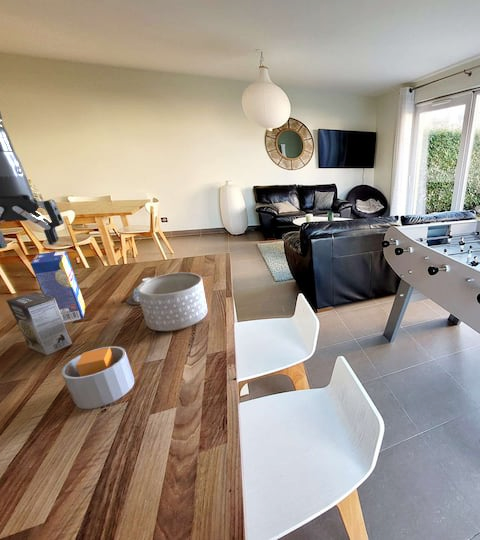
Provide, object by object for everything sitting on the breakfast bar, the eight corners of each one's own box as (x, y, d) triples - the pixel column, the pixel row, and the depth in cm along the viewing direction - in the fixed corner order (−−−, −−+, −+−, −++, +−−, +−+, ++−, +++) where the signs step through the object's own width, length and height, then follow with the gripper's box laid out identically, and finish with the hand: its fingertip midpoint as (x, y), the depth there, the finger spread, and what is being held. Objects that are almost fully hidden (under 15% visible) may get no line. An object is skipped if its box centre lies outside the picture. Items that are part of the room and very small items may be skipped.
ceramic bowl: (66, 415, 64) (52, 384, 61) (84, 381, 74) (72, 353, 70) (129, 399, 69) (119, 369, 66) (138, 369, 78) (129, 342, 75)
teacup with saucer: (163, 300, 114) (159, 282, 111) (125, 308, 107) (119, 289, 104) (162, 289, 123) (158, 272, 120) (127, 295, 116) (122, 277, 114)
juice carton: (89, 399, 68) (75, 365, 64) (95, 384, 72) (83, 352, 68) (116, 392, 70) (104, 359, 66) (120, 378, 74) (109, 347, 71)
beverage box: (85, 305, 108) (65, 250, 100) (83, 318, 100) (61, 259, 92) (60, 311, 104) (37, 253, 96) (55, 324, 96) (30, 263, 88)
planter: (211, 325, 99) (204, 288, 94) (145, 340, 90) (134, 300, 85) (205, 302, 114) (199, 269, 109) (148, 313, 105) (139, 277, 99)
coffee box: (27, 348, 85) (4, 300, 78) (55, 336, 90) (36, 290, 84) (46, 356, 82) (23, 306, 76) (73, 343, 87) (54, 296, 81)
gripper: (51, 172, 67) (74, 239, 74) (-39, 172, 61) (-6, 244, 67) (36, 175, 61) (62, 247, 67) (-66, 174, 55) (-27, 254, 61)
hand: (28, 245), depth 67 cm, fingers open, 8 cm apart
